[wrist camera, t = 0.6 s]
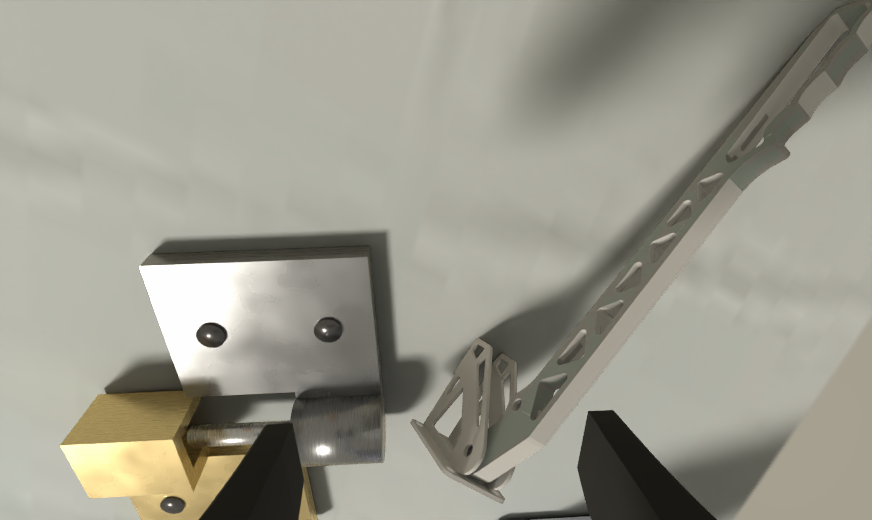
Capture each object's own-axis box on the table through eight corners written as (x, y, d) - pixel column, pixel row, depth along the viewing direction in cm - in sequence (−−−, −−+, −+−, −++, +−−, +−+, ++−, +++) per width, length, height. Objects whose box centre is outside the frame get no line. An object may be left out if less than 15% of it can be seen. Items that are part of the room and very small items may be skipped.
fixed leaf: (386, 424, 26) (383, 477, 23) (211, 433, 26) (187, 488, 23) (369, 245, 21) (363, 286, 18) (150, 254, 20) (109, 297, 18)
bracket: (407, 418, 23) (507, 573, 14) (642, 49, 25) (875, -38, 15) (459, 446, 24) (585, 607, 15) (681, 91, 26) (920, 33, 16)
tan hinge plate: (317, 520, 29) (308, 572, 26) (161, 528, 29) (137, 583, 26) (288, 385, 24) (273, 434, 21) (98, 394, 24) (60, 445, 21)
